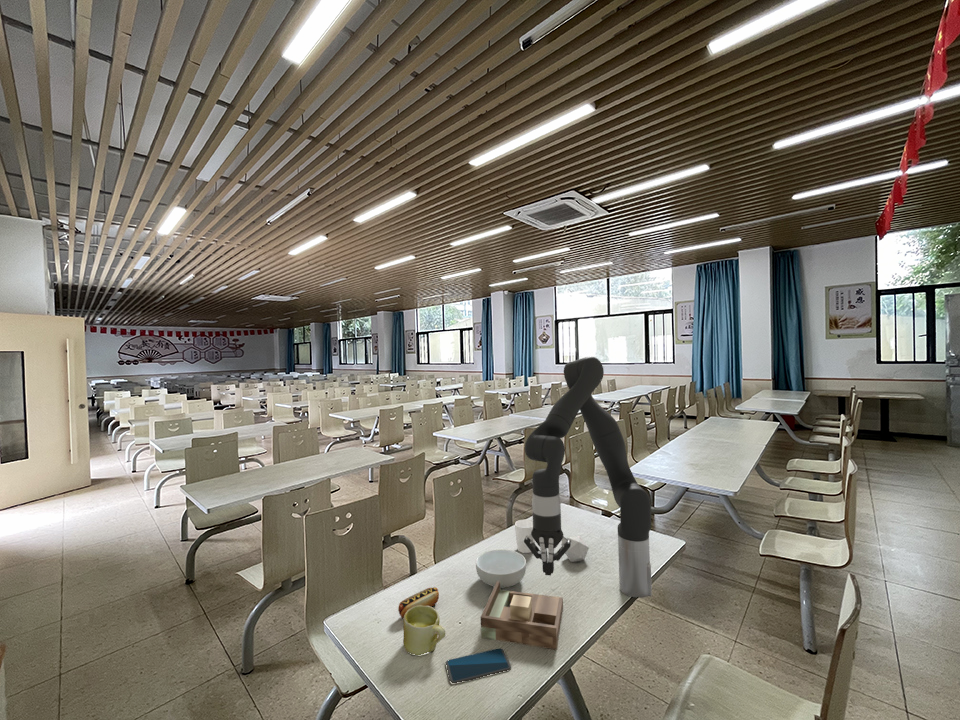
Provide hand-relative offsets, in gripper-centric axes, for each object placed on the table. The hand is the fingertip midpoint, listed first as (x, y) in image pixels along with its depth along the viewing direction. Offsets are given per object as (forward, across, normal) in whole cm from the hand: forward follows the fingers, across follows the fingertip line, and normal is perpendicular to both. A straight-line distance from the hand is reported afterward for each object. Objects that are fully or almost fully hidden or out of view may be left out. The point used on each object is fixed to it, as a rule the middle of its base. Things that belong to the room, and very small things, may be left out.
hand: (548, 573), depth 112 cm
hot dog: (+17, +39, -1) cm, 42 cm away
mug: (+17, +30, +13) cm, 37 cm away
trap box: (+16, +8, -3) cm, 18 cm away
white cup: (+17, +15, -46) cm, 51 cm away
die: (+16, -4, -42) cm, 46 cm away
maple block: (+13, +8, 0) cm, 15 cm away
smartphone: (+17, +16, +16) cm, 28 cm away
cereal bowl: (+17, +19, -22) cm, 34 cm away
